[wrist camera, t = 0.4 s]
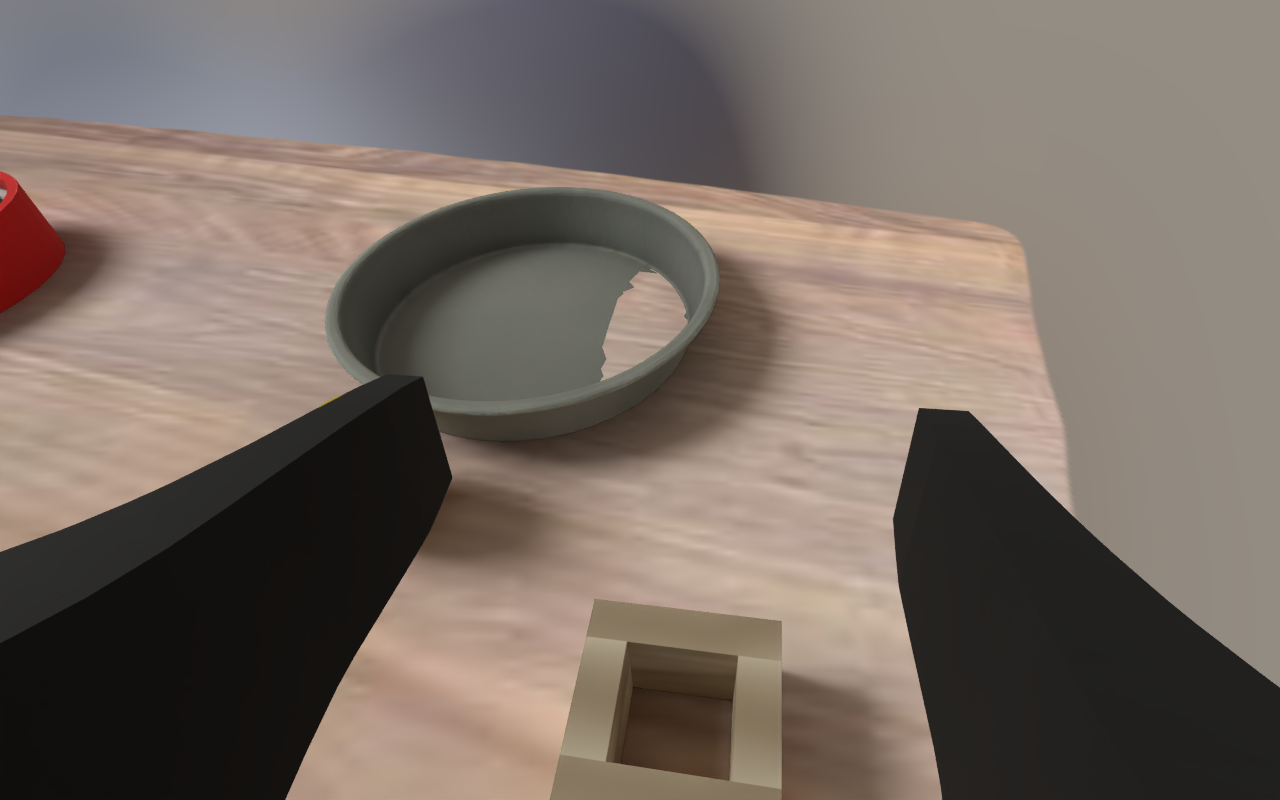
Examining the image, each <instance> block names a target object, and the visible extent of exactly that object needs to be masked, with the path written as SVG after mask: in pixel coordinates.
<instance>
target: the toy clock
mask: <svg viewBox="0 0 1280 800" xmlns="http://www.w3.org/2000/svg"><path fill="white" fill-rule="evenodd" d="M64 255H65V245H64V243H63V242H62V240H61V239H60V237H59V236H58V235H57V233H56V232H55V231H54V229H53V228H52V227H51V225H50V224H49V223H48V221H47V220H46V219H45V218H44V216H43V215H42V214H41V212H40V211H39V210H38V208H37V207H36V206H35V204H34V203H33V202H32V200H31V199H30V198H29V197H28V195H27V194H26V193H25V191H24V190H23V189H22V187H21V186H20V185H19V183H18V182H17V181H16V179H15V178H14V177H12V176H10V175H9V174H7V173H4V172H0V313H1V312H3V311H5V310H6V309H8V308H10V307H11V306H13V305H14V304H16V303H18V302H19V301H21V300H22V299H24V298H25V297H27V296H28V295H29V294H31V293H32V292H33V291H35V290H36V289H37V288H39V287H40V286H41V285H42V284H43V283H44V282H45V281H46V280H47V279H48V278H49V277H51V276H52V275H53V273H54V272H55V271H56V269H57V268H58V267H59V265H60V264H61V262H62V260H63V257H64Z"/></svg>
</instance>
